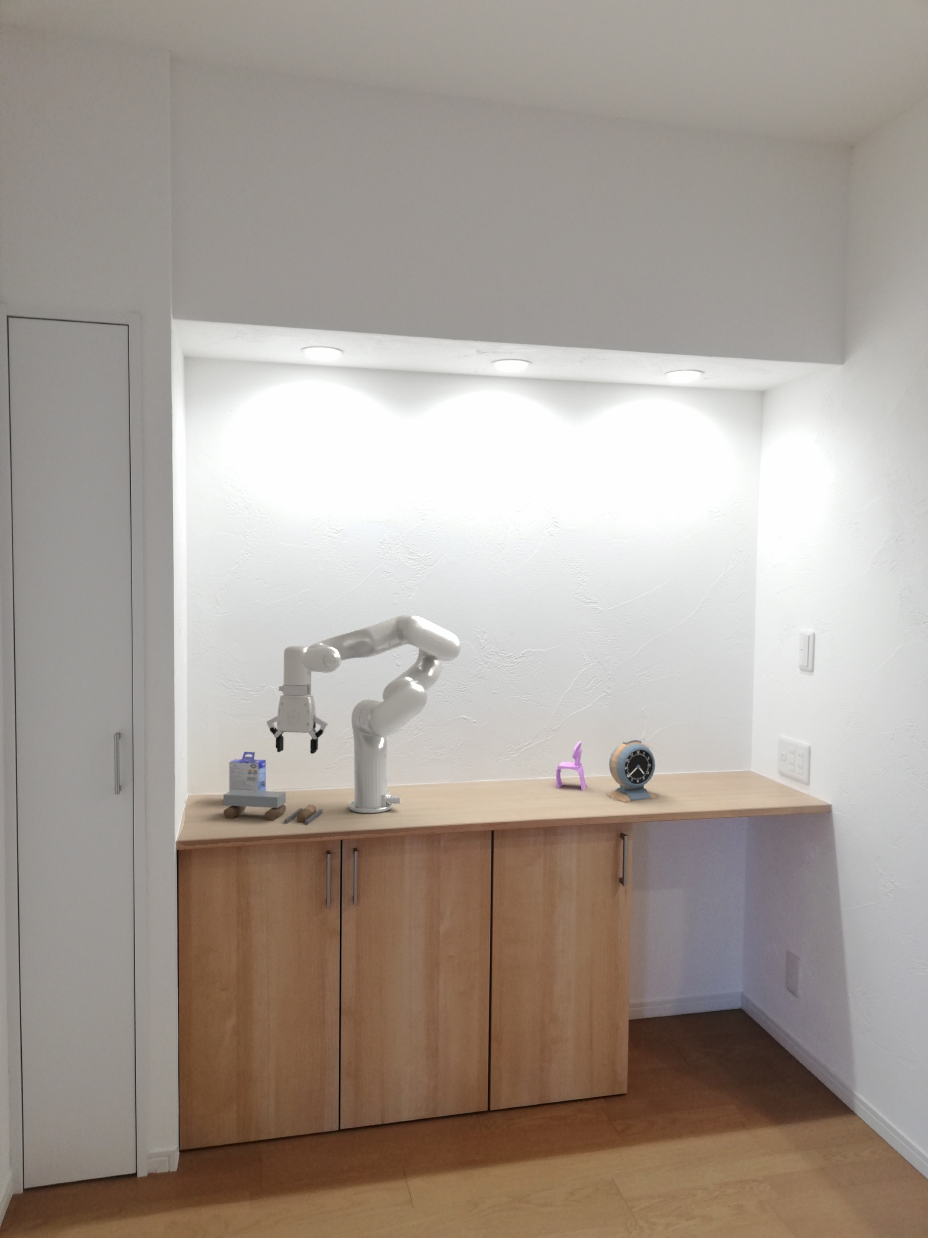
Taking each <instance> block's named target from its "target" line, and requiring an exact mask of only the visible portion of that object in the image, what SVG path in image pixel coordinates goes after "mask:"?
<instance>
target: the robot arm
mask: <svg viewBox="0 0 928 1238" xmlns="http://www.w3.org/2000/svg"><path fill="white" fill-rule="evenodd" d="M404 645H408V646H409V645H411V646H413V647H416V649H417V648H418V655H417V658H416V661H415V662H414V663H413V664H412V665H411V666H410V667H409V668H408V669H407V670H404V672H402V673H401V674H399V676H397V677H396V678H394V679H393V680H391V681H390V682H389V683H388V684H387V685H386V686H385V687H384V689H383V692H382V701H379V700H375V699H369V698H368V699H364V700H361V701H359V702H358V703H356V705H355V706H354V708H353V710H352V712H351V729H352V734H353V753H354V758H353V762H354V764H353V766H354V767H353V769H354V771H353V772H354V775H353V777H354V778H353V779H354V780H353V781H354V783H353V784H354V787H353V788H354V793H353V794H354V800H353V801H351V802H350V803H349V805H348V807H349V810H350V811H352V812H356V813H360V814H361V813H362V814H374V813H375V814H377V813H383V812H387V811H390V810H392V809H393V805H401V803H402V796H399V795H392V794H391V791H390V790H388V741H387V737H389V736H392V735H393V734H395V733H396V732H398V731H399V730H400V729H401V728H403V727H404V726H405V725H406V724H408V723H409V722H410V721H411V720H413V719H414V718H415V717H416V716H418V715H419V714H420V713H421V712H422V711H423V710H424V708H425V706H426V704H427V701H428V694H427V691H429V689H430V688H431V687H433V686H434V685H436V682H437V681H438V680H439V678H440V676H441V673H442V668H443V662H451V661H454V660H455V659H456V658H457V657H458V656H459V654H460V653H461V648H462V645H461V641H460V640H459V638H458V636H457V635H455V634H454V633H452V632H451V631H449V630H447V629H445V628H443V627H441V626H439V625H436V624H434V623H433V622H431V621H429V620H427V619H425V618H423V617H421V616H418V615H410V614H409V615H408V614H405V615H398V616H396V617H393V618H390V619H386V620H385V621H381V622H378V623H376V624H373V625H370V626H367V627H364V628H361V629H357V630H353V631H350V632H347V633H342V634H339V635H335V636H333V637H329V638H327V639H324V640H323V639H322V640H321V641H318V642H315V643H313V644H311V645H309V646H304V645H303V646H301V645H299V646H297V645H296V646H294V645H293V646H287V647H286V648H285V649H284V651H283V684H282V685H279V686H278V691H280V692H282V695H279V696H280V697H279V700H278V701H279V702H278V707H277V716H274V717H273V718H271V719H269V720H267V721H266V725H267V726H268V729H269V731H270V733H271V734H272V735H273V737H274V739H275V748H276V752H277V753H280V752H282V751H284V746H285V745H284V742H285V741H284V736H283V734H284V733H301V734H304V733H308V734H309V735H310V737H311V739H310V740H309V741H310V743H309V744H310V746H309V747H310V754H311V755H313V754H315V753H316V752H317V751H318V749H319V738H320V737H321V736H322V735H323V734H324V732H325V731H326V729H327V728H328V723H327V722H326V721H324V720H323V719H321V718H319V717H318V716H317V711H316V705H315V699H314V695H312V672H313V673H323V674H324V673H325V674H327V673H332V672H335V671H336V670H337V669H338V668H339V667H340V665H341V663H342V661H345V660H351V659H355V658H356V659H357V658H358V659H359V658H363V659H364V658H369V657H375V656H378V655H381V654H383V653H386V652H388V651H391V650H393V649H396V648H399V647H402V646H404ZM275 723H276V726H275ZM317 725H318V726H320V728H319V729H318V731H317V729H316V727H317Z"/></svg>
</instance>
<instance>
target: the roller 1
mask: <svg viewBox="0 0 928 1238" xmlns="http://www.w3.org/2000/svg"><path fill="white" fill-rule="evenodd" d="M246 807H247V806H228V807H227V808H225V809H224V810H223V817H224V818H225V819H233V818H234V817H236V816H238V815H239V814H241V813H243V812H244V811H245V810H246Z"/></svg>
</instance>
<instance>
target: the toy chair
mask: <svg viewBox="0 0 928 1238" xmlns="http://www.w3.org/2000/svg"><path fill="white" fill-rule="evenodd" d="M581 746H582V740H579V741H578V742H577V743H576V745H575V746H574V748H573V754H572V759H573V760H574V762H570V761H562V762H560V764H558V765H557V769H555V781H556V789H560V788H561V786H563V782H562V781H563V780H562V777H561V771H562V770H563V769H565V770H574V771H577V772H578V776H579V781H580V786H581V787H580V789H581V791H584V790H585V789H586V787H587V783H586V779H585V773H584V772H585V771H584V766H583V763H582V762H581V759H582V751H583V750H582V749H581V748H582V747H581Z"/></svg>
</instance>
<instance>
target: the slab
mask: <svg viewBox="0 0 928 1238" xmlns="http://www.w3.org/2000/svg"><path fill="white" fill-rule="evenodd" d="M222 796H223V806H227V807H230V806H246V807H248V808H250V807H253V808H270V809H271V808H278V807H280V806H281V805H283V804H284V805H285V804H286V802H287V801H286V796H287V795H286V791H269V790H266V791H250V790H231V791H227V792H226V793H223V795H222Z"/></svg>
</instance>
